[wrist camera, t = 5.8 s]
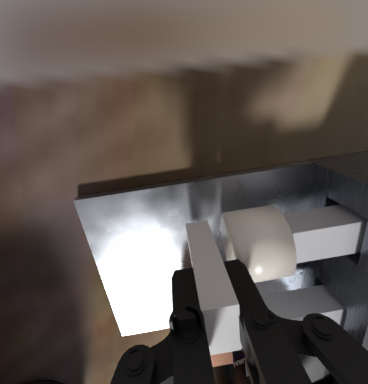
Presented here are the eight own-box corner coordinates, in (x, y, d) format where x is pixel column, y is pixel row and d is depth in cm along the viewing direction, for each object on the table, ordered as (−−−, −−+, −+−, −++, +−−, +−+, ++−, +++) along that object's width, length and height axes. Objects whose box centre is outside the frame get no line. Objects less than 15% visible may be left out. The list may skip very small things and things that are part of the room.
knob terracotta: (185, 325, 19) (191, 386, 15) (178, 287, 17) (183, 344, 13) (328, 299, 19) (373, 351, 15) (335, 260, 18) (387, 307, 14)
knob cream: (222, 253, 16) (242, 302, 12) (218, 201, 15) (240, 238, 11) (386, 226, 17) (458, 264, 13) (400, 172, 15) (489, 196, 11)
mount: (123, 328, 21) (106, 428, 14) (77, 196, 15) (16, 261, 9) (371, 283, 22) (460, 359, 15) (408, 144, 16) (570, 170, 10)
